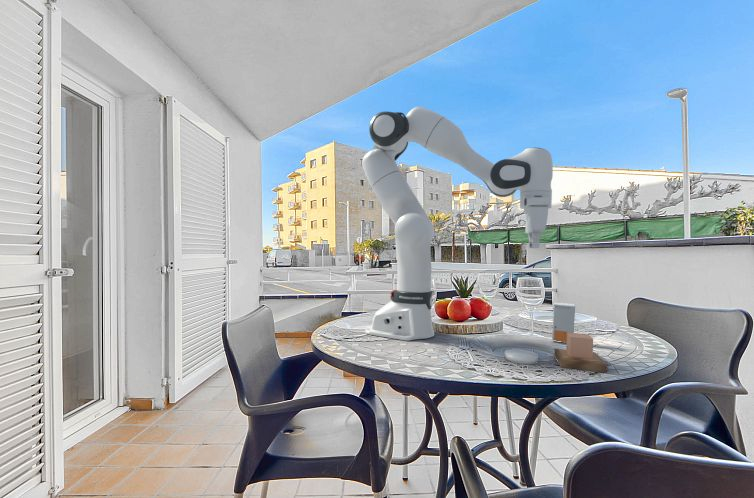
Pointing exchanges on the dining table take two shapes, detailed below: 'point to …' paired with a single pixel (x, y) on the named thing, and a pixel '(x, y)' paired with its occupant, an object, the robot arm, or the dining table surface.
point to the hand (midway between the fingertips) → (533, 248)
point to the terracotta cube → (579, 345)
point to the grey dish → (521, 356)
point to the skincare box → (563, 321)
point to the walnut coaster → (580, 361)
